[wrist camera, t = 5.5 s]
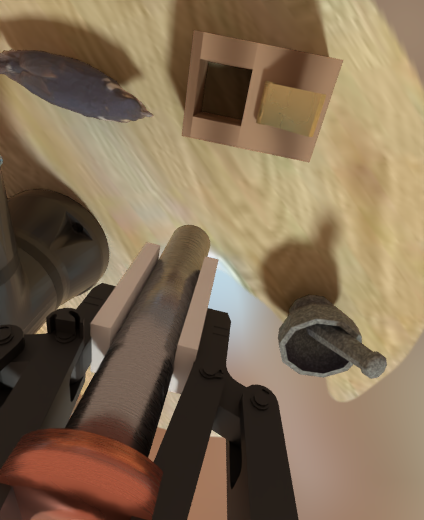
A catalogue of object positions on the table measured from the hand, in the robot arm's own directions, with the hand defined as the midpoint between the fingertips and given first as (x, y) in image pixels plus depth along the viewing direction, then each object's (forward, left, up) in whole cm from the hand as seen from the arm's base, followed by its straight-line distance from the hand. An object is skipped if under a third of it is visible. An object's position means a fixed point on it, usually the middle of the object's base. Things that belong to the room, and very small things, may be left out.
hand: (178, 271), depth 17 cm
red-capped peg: (0, 0, -4) cm, 4 cm away
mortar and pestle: (+17, -16, -21) cm, 31 cm away
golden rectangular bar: (+5, +8, -14) cm, 17 cm away
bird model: (-15, +6, -21) cm, 27 cm away
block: (+2, +8, -21) cm, 22 cm away
